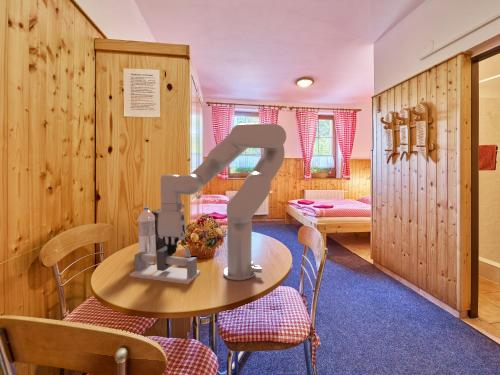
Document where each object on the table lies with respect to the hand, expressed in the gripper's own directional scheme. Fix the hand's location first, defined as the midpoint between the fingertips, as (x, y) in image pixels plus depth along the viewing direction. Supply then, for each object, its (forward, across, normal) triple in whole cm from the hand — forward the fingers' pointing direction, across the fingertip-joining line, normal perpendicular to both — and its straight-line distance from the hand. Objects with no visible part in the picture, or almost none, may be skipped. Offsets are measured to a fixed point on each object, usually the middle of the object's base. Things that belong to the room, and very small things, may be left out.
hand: (171, 253), depth 96 cm
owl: (+9, +22, -28) cm, 37 cm away
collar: (+6, +3, 0) cm, 7 cm away
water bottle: (+9, +17, -8) cm, 21 cm away
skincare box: (+9, +3, -22) cm, 24 cm away
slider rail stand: (+9, +3, 0) cm, 9 cm away
